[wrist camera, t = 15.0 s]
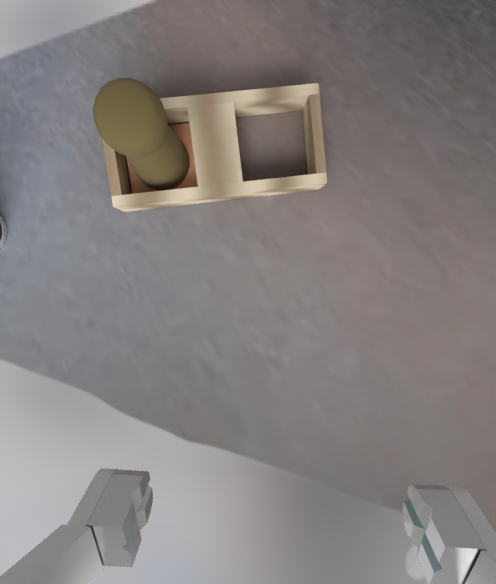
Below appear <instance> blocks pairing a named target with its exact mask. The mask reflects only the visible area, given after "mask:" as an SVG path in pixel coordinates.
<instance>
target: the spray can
mask: <svg viewBox="0 0 496 584" xmlns="http://www.w3.org/2000/svg"><path fill="white" fill-rule="evenodd" d="M6 236H7V229H6V224H5V222H4V220H3V218H2V217H1V215H0V248H1V247H2V246H3V244H4V242H5V240H6Z"/></svg>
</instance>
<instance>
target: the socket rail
mask: <svg viewBox="0 0 496 584" xmlns="http://www.w3.org/2000/svg"><path fill="white" fill-rule="evenodd" d="M159 99H160V100H161V101H162V104H163V106H164V109H165V112H166V115H167V124H173V123H183V122H189V123H184V124H174V125H168V126H169V127H170V128H171V129H172V131H173V132H174V133H175V134H176V135H177V137H178V138H179V139H180V140H181V142H182V143H183V144H184V146H185V147H186V149H187V151H188V154H189V159H190V167H189V171H188V174H187V176H186V178H185V179H184V181H183V182H182V183H181V184H179V185H178V186H177V187H175V188H172V189H170V190H156V189H152V188H150V187H148V186H147V185H145V184H144V183H142V182H141V180H140V179H139V178H138V176H137V175H136V173H135V172H134V170H133V168H132V167H131V165H130V163H129V162H128V160H127V163H128V169H129V176H130V182H131V188H132V194H131V192H130V185H129V179H128V173H127V166H126V160H125V155H123V154H120V153H118V152H117V151H115V150H114V149H113V148H111V147H110V146H109V145H108V144H107V143H106V142H105V141H104V139H103V138H102V142H103V149H104V155H105V161H106V167H107V173H108V179H109V185H110V191H111V197H112V203H113V207H115V208H117V209H120V210H122V211H124V212H126V211H135V210H144V209H152V208H161V207H170V206H179V205H188V204H197V203H206V202H215V201H224V200H233V199H242V198H251V197H259V196H268V195H277V194H286V193H295V192H304V191H313V190H319V189H320V188H321V187H323V186H324V185H325V184H326V183H327V175H326V163H325V152H324V141H323V129H322V118H321V106H320V95H319V84H318V83H314V84H304V85H293V86H283V87H273V88H262V89H252V90H242V91H231V92H221V93H211V94H201V95H190V96H180V97H170V98H159ZM292 111H302V114H303V125H304V135H305V146H306V156H307V167H308V175H299V176H290V177H281V178H272V179H263V180H254V181H245V182H243V178H242V170H241V162H240V153H239V145H238V136H237V128H236V119H235V117H243V116H252V115H262V114H272V113H282V112H292ZM189 124H190V125H189ZM190 131H191V132H190ZM192 146H193V147H192ZM194 161H195V162H194ZM196 176H197V177H196Z"/></svg>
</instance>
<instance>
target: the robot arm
mask: <svg viewBox="0 0 496 584" xmlns="http://www.w3.org/2000/svg"><path fill="white" fill-rule="evenodd" d="M149 481H150V476H149V472H147V471H132V470H118V469H100V470H99V471H98V472H97V473H96V474H95V476H94V478H93V480H92V482H91V483H90V485H89V487H88V489H87V490H86V492H85V494H84V496H83V497H82V499H81V501H80V503H79V505H78V506H77V508H76V510H75V512H74V513H73V515H72V517H71V519H70V521H69V522H68V524H67V525H61V526H60V527H59V528H58V529H56V530H55V531H54V532H53V533H52V534H50V535H49V536H48V537H47V538H46V539H44V540H43V541H42V542H41V543H40V544H38V545H37V546H36V547H35V548H34V549H33V550H31V551H30V552H29V553H28V554H26V555H25V556H24V557H23V558H22V559H20V560H19V561H18V562H17V563H16V564H15V565H13V566H12V567H11V568H10V569H9V570H7V571H6V572H5V573H4V574H3V575H2V576H0V584H90V583H91V582H92V581H93V579H94V578H95V577H96V576H97V575H98V574H99V572H100V571H101V570H102V569H103V566H124V567H132V566H133V563H134V560H135V557H136V554H137V551H138V548H139V545H140V542H141V536H140V530H141V529H142V527H144V526H145V525H146V523H147V522H148V518H149V515H150V511H151V506H152V501H153V492H152V488H151V487H150V486H149V485H148V483H149ZM407 493H408V495H409V499H408V500H406V501H405V502H404V505H403V509H402V512H403V521H404V525H405V529H406V531H407V534H408V537H409V539H410V540H411V541H412V542H413V543H414V544H415V545H416V546H417V547H418V553H417V559H418V562H419V564H420V567H421V569H422V572H423V574H424V577H425V579H426V582H427V584H496V533H495V531H494V530H493V528H492V527H491V525H490V524H489V522H488V521H487V519H486V518H485V516H484V514H483V513H482V511H481V510H480V508H479V507H478V505H477V504H476V502H475V501H474V499H473V498H472V496H471V495H470V493H469V492H468V491H467V490H466V489H465V488H463V487H448V486H437V485H411V486H409V488H408V491H407Z"/></svg>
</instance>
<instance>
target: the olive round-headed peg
mask: <svg viewBox="0 0 496 584" xmlns="http://www.w3.org/2000/svg"><path fill="white" fill-rule="evenodd" d="M93 112H94V121H95V124H96V126H97V129H98V131H99V134H100V135H101V137H102V138H103V139H104V141H105V142H106V143H107V144H108V145H109V146H110V147H111V148H113V149H114V150H115V151H117V152H118V153H120V154H123V155H125V157H126V158H127V160H128V162H129V163H130V165H131V167H132V168H133V170H134V172H135V173H136V175H137V176H138V178H139V179H140V180H141V182H142V183H144V184H145V185H147V186H148V187H150V188H152V189H156V190H170V189H172V188H175V187H177V186H178V185H179V184H181V183H182V182H183V181H184V179H185V178H186V176H187V174H188V171H189V167H190V159H189V154H188V151H187V149H186V147H185V146H184V144H183V143H182V142H181V140H180V139H179V138H178V137H177V135H176V134H175V133H174V132H173V131H172V129H171V128H170V127H169V126H168V125H167V115H166V112H165V109H164V106H163V104H162V101H161V100H160V99H159V97H158V96H157V95H156V93H155V92H154V91H153V90H152V89H151V88H149V87H148V86H147V85H145V84H144V83H143V82H140V81H137V80H134V79H131V78H119V79H116V80H113V81H110V82H108V83H107V84H106V85H105V86H103V87H102V88H101V90H100V91H99V93H98V95H97V96H96V99H95V103H94V108H93Z"/></svg>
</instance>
